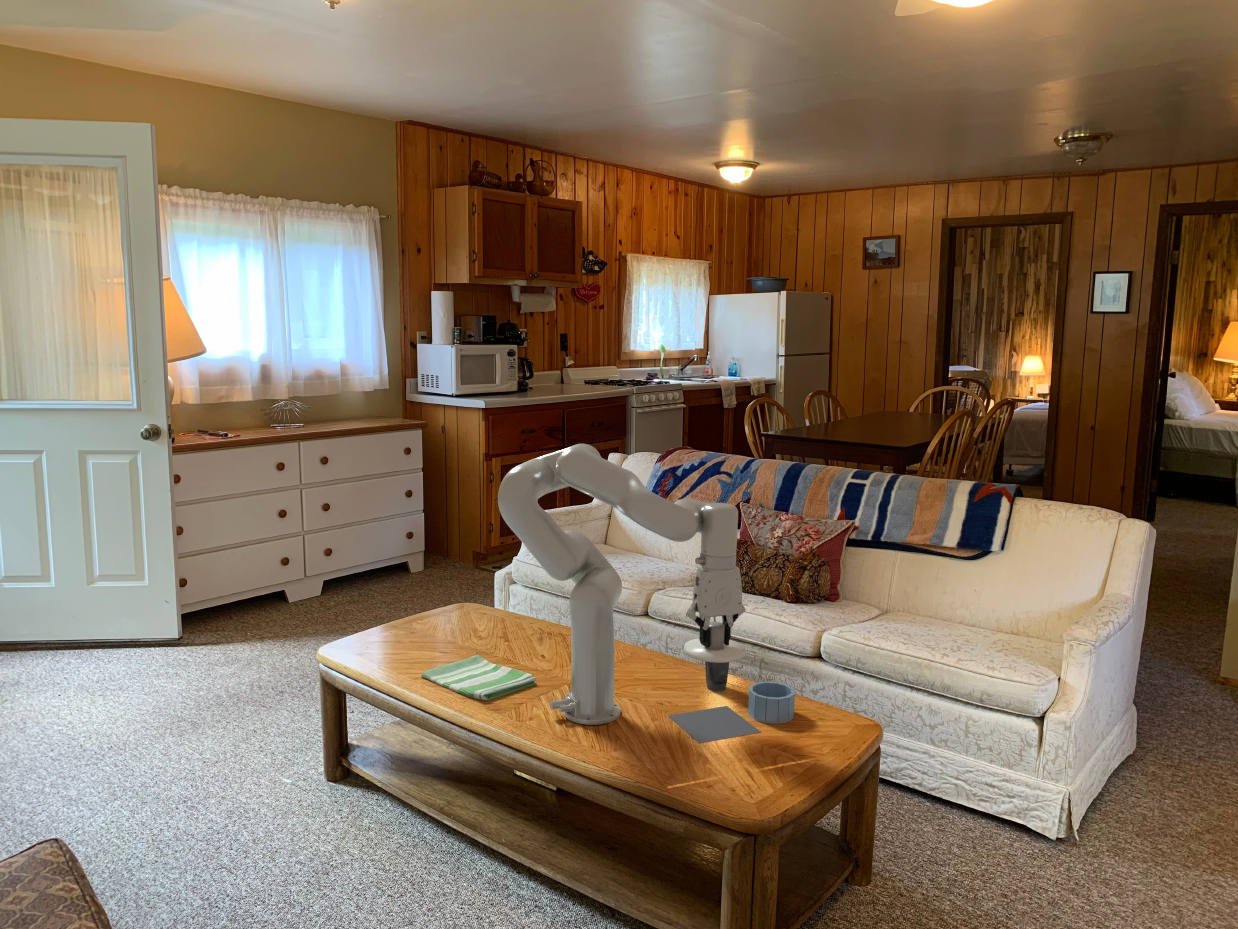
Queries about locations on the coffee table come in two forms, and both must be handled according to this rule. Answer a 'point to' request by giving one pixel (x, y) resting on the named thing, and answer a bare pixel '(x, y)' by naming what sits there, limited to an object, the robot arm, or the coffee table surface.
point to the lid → (715, 647)
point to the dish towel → (479, 678)
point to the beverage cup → (716, 674)
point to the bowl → (771, 702)
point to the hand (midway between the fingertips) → (714, 643)
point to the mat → (713, 724)
